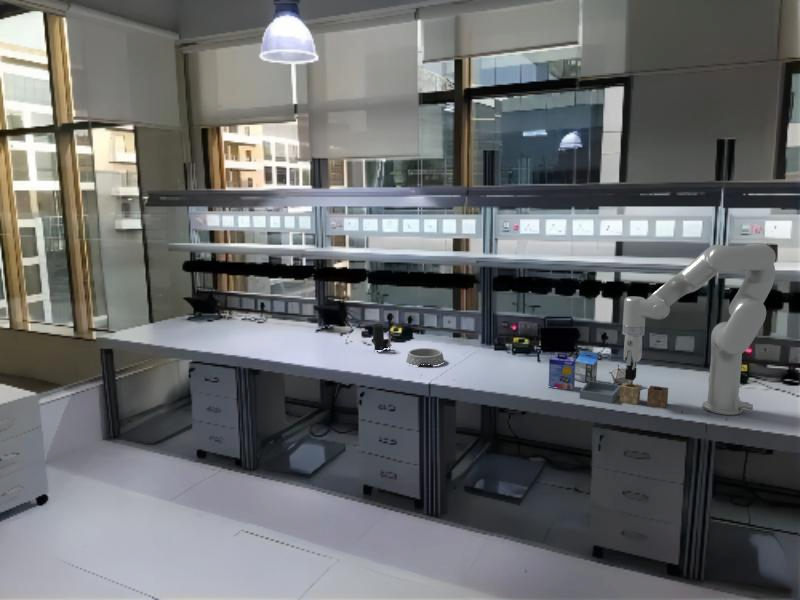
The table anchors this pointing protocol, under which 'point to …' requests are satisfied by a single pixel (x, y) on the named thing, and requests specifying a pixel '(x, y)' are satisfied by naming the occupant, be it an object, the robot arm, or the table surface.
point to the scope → (380, 338)
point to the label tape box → (586, 367)
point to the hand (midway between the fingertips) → (630, 378)
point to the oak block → (630, 394)
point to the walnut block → (657, 396)
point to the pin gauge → (629, 382)
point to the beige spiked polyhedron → (619, 375)
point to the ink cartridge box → (562, 372)
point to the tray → (600, 392)
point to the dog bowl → (425, 356)
